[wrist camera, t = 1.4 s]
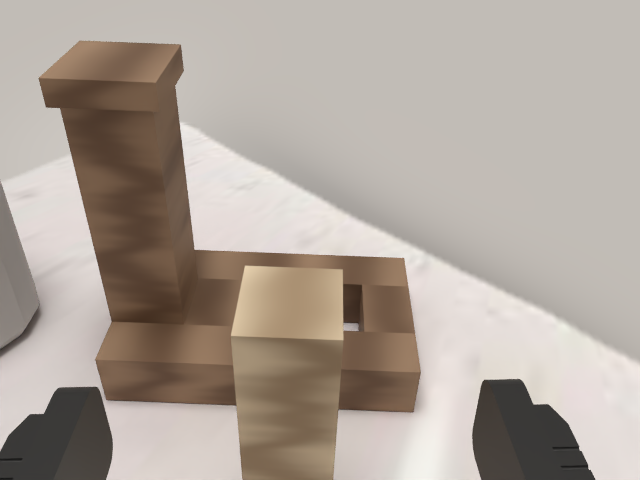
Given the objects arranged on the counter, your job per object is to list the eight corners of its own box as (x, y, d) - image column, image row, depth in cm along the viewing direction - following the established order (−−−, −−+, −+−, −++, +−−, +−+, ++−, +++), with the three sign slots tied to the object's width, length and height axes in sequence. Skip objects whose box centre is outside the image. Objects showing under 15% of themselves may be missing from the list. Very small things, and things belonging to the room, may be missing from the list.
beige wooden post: (250, 576, 32) (230, 335, 21) (258, 505, 35) (244, 265, 24) (325, 579, 32) (343, 340, 21) (326, 508, 35) (342, 269, 24)
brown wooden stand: (99, 399, 41) (12, 101, 28) (145, 285, 50) (96, 25, 38) (413, 411, 41) (469, 119, 28) (398, 295, 50) (435, 38, 38)
